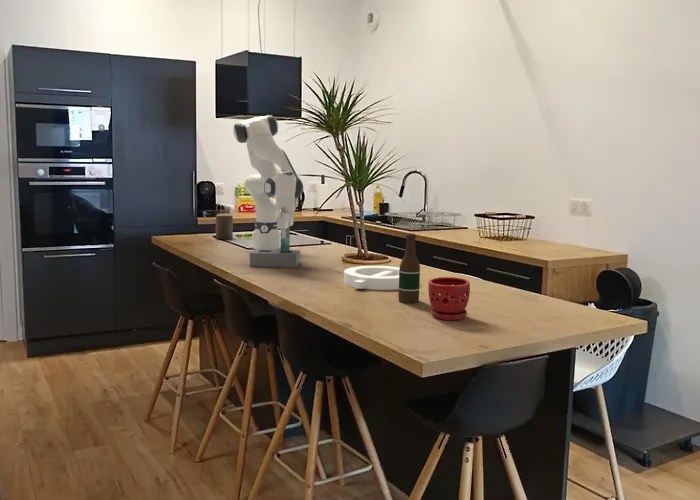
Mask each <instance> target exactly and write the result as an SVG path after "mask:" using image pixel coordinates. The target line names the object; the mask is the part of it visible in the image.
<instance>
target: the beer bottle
mask: <svg viewBox="0 0 700 500" xmlns="http://www.w3.org/2000/svg"><path fill="white" fill-rule="evenodd" d="M405 238H406V240H405V249H404V250H405V251H404V256H403V257H402V259H401V261H400V263H399V268H400V269H399V289H398V302H399V303H402V304H416V303H419V302H420V301H419V300H420V280H421V279H420V277H421V267H420V266H421V264H420V261H419V259H418V257H417V253H416V238H417V236H416V233H411V232H410V233H406V234H405Z"/></svg>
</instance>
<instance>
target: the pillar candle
mask: <svg viewBox="0 0 700 500" xmlns="http://www.w3.org/2000/svg"><path fill="white" fill-rule="evenodd" d="M233 217H234V216H233V214H225V213H223V214H215V239H217V240H232V239H233V237H234V236H233V235H234V234H233V233H234V232H233V230H234V229H233V219H234V218H233Z"/></svg>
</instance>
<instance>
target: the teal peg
mask: <svg viewBox="0 0 700 500" xmlns="http://www.w3.org/2000/svg"><path fill="white" fill-rule="evenodd" d="M290 236H291V226H290V221H289V227H288V228H286V238H282V232H281V231H280V239H281V242H280V243H281V252H290V250H291V249H290V247H291V245H290V243H291V241H290V240H291V239H290Z"/></svg>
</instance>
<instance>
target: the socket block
mask: <svg viewBox="0 0 700 500" xmlns="http://www.w3.org/2000/svg"><path fill="white" fill-rule="evenodd" d="M300 263H301V249H290V252H281V249H253V250H251V252H249V266H250V267H266V268H273V267H274V268H298V266H299V265H300Z"/></svg>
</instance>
